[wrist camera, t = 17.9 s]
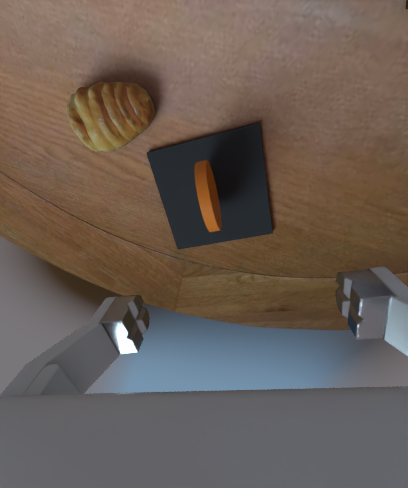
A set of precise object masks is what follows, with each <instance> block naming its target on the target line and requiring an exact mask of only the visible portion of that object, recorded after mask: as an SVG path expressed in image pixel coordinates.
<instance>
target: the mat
mask: <svg viewBox="0 0 408 488" xmlns="http://www.w3.org/2000/svg"><path fill="white" fill-rule="evenodd" d="M147 156H148V159H149V162H150V165H151V168H152V171H153V174H154V178H155V181H156V184H157V187H158V190H159V193H160V196H161V199H162V202H163V205H164V208H165V211H166V214H167V217H168V220H169V224H170V227H171V230H172V233H173V236H174V239H175V242H176V245H177V248H178V249H183V248H189V247H195V246H201V245H207V244H213V243H219V242H224V241H230V240H236V239H242V238H248V237H254V236H260V235H265V234H271V233H273V231H272V223H271V215H270V206H269V198H268V190H267V181H266V173H265V165H264V156H263V148H262V140H261V131H260V123H256V124H252V125H248V126H245V127H241V128H237V129H233V130H230V131H226V132H222V133H218V134H215V135H211V136H207V137H203V138H200V139H196V140H192V141H188V142H185V143H181V144H177V145H173V146H170V147H166V148H162V149H158V150H155V151H151V152H147ZM204 160H208V162H209V164H210V166H211V169H212V172H213V176H214V180H215V184H216V188H217V193H218V198H219V204H220V211H221V220H222V228H221V230H220V231H215V232H209V230H208V229H207V227H206V224H205V222H204V219H203V216H202V212H201V209H200V205H199V200H198V195H197V190H196V183H195V163H196V162H200V161H204Z"/></svg>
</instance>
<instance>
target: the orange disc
mask: <svg viewBox="0 0 408 488" xmlns="http://www.w3.org/2000/svg"><path fill="white" fill-rule="evenodd" d="M195 183H196V190H197V195H198V200H199V205H200V209H201V212H202V216H203V219H204V222H205V224H206V227H207V229H208V230H209V232H215V231H220V230H221V228H222V220H221V211H220V204H219V198H218V193H217V188H216V184H215V180H214V176H213V172H212V169H211V166H210V164H209V162H208V160H204V161H200V162H196V163H195Z"/></svg>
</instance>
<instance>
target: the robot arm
mask: <svg viewBox="0 0 408 488" xmlns="http://www.w3.org/2000/svg"><path fill="white" fill-rule="evenodd" d="M336 282H337V283H338V285H339V287H338V289H337V290H336V302H337V306H338V308H339V311H340V312H341V314H342V315H343V316H345V317H346V318H348V326H349V328H350V329H351V331H352V333H353V334H354V336H355V338H356V339H382V338H384V340H385V341H387V342H388V343H390V344H391V345H393V346H394V347H395V348H397V349H398V350H400V351H401V352H403V353H404V354H406V355H407V356H408V287H407V286H406V285H405V284H404V283H403V282H401V281H400V280H399V279H398V278H397V277H396V276H395V275H394V274H393V273H392V272H390V271H389V270H388V269H387V268H385V267H375V268H368V269H364V270H355V271H346V272H338V273H337V277H336ZM143 302H144V301H143V299H142V297H141V296H140V295H129V296H119V297H109V298H107V299H105V300H104V302H103V303H102V305H101V306H100V308H99V309H98V310H97V311H96V313H95V314H94V316H93V317H92V318H91V320H90V321H89V322H88V324H87V325H83V326H81V327H80V328H79V329H77V330H76V331H74V332H73V333H71V334H70V335H68V336H67V337H65V338H64V339H63V340H61V341H60V342H58V343H57V344H55V345H54V346H52V347H51V348H50V349H48V350H47V351H45V352H44V353H42V354H41V355H40V356H38V357H37V358H35V359H33V360H32V361H31V362H29V363H28V364H26V365H25V366H24V368H23V369H22V370H21V371H20V372H19V374H18V375H17V376H16V377H15V378H14V379H13V381H12V382H11V383H10V384H9V385H8V387H7V388H6V389H5V390H4V391H3V393H2V394H1V395H0V488H408V386H404V387H402V386H401V387H359V388H318V389H317V388H315V389H274V390H234V391H233V390H232V391H190V392H189V391H186V392H146V393H145V392H144V393H143V392H142V393H101V394H100V393H99V394H84V393H85V392H86V391H87V389H88V388H89V387H90V386H91V385H92V384H93V383H94V382H95V381H96V380H97V379H98V378H99V377H100V376H101V375H102V373H103V372H104V371H105V370H106V369H107V368H108V367H109V366H110V365H111V364H112V363H113V362H114V361H115V360H116V359H117V357H118V356H119V354H126V353H137V352H138V351H139V349H140V346H141V344H142V341H143V337H142V334H144V333H145V332H146V331H147V329H148V326H149V319H150V318H149V313H148V311H147V309H146V308H145V307H143V306H142V304H143Z"/></svg>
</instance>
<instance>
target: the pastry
mask: <svg viewBox="0 0 408 488" xmlns="http://www.w3.org/2000/svg"><path fill="white" fill-rule="evenodd" d="M66 111H67V115H68V118H69V121H70V123H71V125H72V128H73V130H74V132H75V133H76V134H77V135H78V136H79V138H80V140H81V141H82V142H83V143H84V144H85V145H86V146H87V147H89V148H90V149H91V150H93V151H96V152H98V151H106V152H111V151H114V150H116V149H117V148H120V147H121V146H124V145H126V144H128V143H129V142H130V141H131V140H133V139H134V138H135V137H136V136H138V135H139V134H140V133H142V132H143V131H144V130H145V129H146V128H147V127H148V126H149V124H150V123H151V121H152V119H153V117H154V113H155V109H154V105H153V102H152V100H151V98H150V97H149V95H148V93H147V91H146V90H144V89H143V88H142V87H140V86H139V85H138V84H136V83H124V82H109V83H105V82H100V81H99V82H97V83H96V84H94V85H93V86H91V87H89V88H84V87H81V88H79V89H78V90H77V91H76V94H72V95H71V97H70V100H69V102H68V106H67V109H66Z"/></svg>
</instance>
